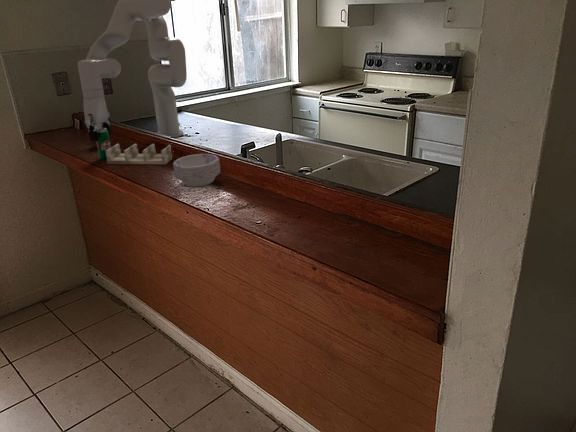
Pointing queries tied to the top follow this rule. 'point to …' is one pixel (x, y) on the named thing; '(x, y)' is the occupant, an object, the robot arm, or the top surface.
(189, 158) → the paper bowls
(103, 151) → the soda can
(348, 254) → the top surface
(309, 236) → the top surface
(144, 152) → the can rack
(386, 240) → the top surface
